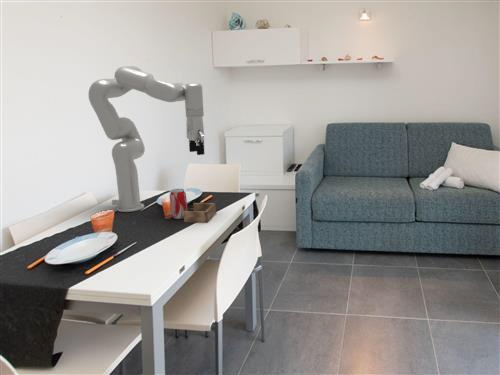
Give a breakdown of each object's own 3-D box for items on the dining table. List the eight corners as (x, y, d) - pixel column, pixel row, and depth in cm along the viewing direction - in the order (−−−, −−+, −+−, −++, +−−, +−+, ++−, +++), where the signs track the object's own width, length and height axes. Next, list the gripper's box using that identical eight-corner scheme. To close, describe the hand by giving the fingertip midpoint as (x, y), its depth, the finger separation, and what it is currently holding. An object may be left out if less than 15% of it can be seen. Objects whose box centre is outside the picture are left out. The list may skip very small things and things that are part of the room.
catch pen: (184, 222, 210) (183, 211, 209) (194, 212, 224) (193, 203, 223) (207, 222, 208) (206, 212, 207) (216, 213, 222) (215, 203, 221)
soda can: (186, 219, 214) (184, 191, 212) (170, 219, 215) (167, 192, 212) (188, 214, 221) (186, 188, 219) (172, 215, 222) (170, 188, 219)
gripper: (180, 112, 220) (182, 151, 224) (192, 115, 205) (195, 156, 209) (196, 111, 223) (198, 149, 227) (210, 113, 208) (212, 155, 212)
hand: (196, 153), depth 218 cm, fingers open, 9 cm apart
